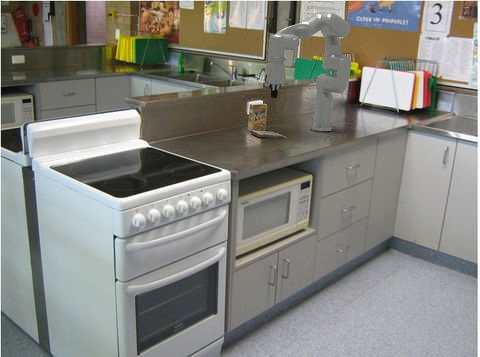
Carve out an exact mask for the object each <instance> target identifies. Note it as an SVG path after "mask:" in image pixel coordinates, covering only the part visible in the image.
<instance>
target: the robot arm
mask: <svg viewBox="0 0 480 357" xmlns="http://www.w3.org/2000/svg"><path fill="white" fill-rule="evenodd" d="M318 32H320V33H321V34H322V36H323V38H324V41H325V49H324V52H323V53H324V54H323V59H322V69H323V70H324V71H326V72H332V73H321V74H319V75H318V76H317V77H316V81H315V87H316V90H315V91H316V95H315V97H316V98H315V104H314V105H315V106H314V107H315V108H314V114H313V123H312V124H313V125H312V126H313V127H315V128H323V129H324V128H330V127H332V126H337V127H338V123H332V115H333V106H334V97H333V93H334V94H343V93H345V91H346V89H347V86H348V83H349V77H350V73H351V67H352V63H351V59H350V58H349V56H347V55H344V54H341V52H342V41H341V39H340V38H345V37H347V36H348V35H349V34H350V32H351V26H350V23H349V22H348V21H347V20H345V19H344V18H342V17H341V16H339V14H336V13H335V12H334V13H333V12H326V11H325V12H322V11H321V12H316V13H314V14H312V15H311V16H310V17H307V19H305V20H303V21H301V22H299V23H295V24H293V25H290V26H287V27H285V28H283V29H280V30H279V31H278V32H276V33H274V34H271V35H270V36H269V46H268V62H267V63H265V64H266V65H265V68H264V73H263V74H264V76H263V82H264V86H265V87H268V88H269V90H270V97H271V98H272V99H277V98H278V94H279V93H278V92H279V90H280V88H281V87H285V85H286V84H285V83H286V65H285V62H286V61H287V58H285V51H295V50H297V49H298V48H299V46H300V40H306V39H309V38H311V37H312V36H314V35H315V34H317V33H318ZM333 73H336V74H333ZM332 128H333V127H332Z"/></svg>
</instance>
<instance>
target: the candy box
mask: <svg viewBox="0 0 480 357" xmlns="http://www.w3.org/2000/svg"><path fill="white" fill-rule="evenodd" d="M248 107H249V110H248V124H247V125H248V126H247V131H249V132H250V130H255V131H266V130H267V129H266V128H267V115H268V104H266V103H249V106H248Z"/></svg>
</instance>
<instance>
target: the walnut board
mask: <svg viewBox="0 0 480 357" xmlns="http://www.w3.org/2000/svg"><path fill="white" fill-rule="evenodd" d="M249 133H250V134H251V135H254V136H256V137H258V138H266V139H267V138H268V139H278V138H279V139H282V138H284V137H283V136H284V135H283V136H282V134H280V133H278V132H274V131H269V130H268V131H266V130H265V131H255V130H250V131H249ZM277 133H278V134H277ZM279 134H280V135H279Z"/></svg>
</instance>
